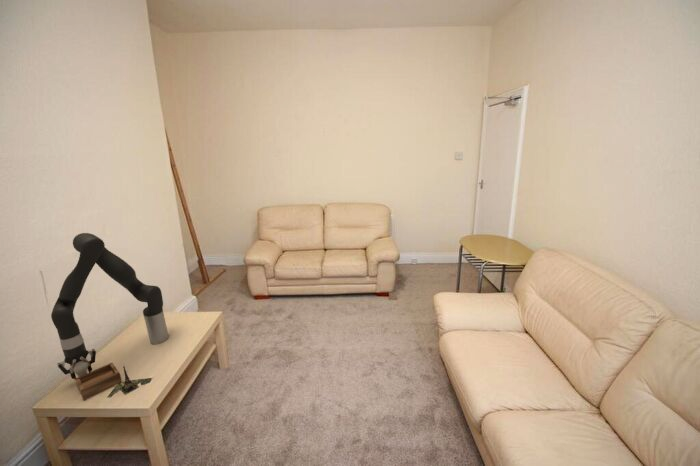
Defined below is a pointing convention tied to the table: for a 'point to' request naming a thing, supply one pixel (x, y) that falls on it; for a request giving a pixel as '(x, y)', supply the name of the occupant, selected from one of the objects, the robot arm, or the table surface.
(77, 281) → the robot arm
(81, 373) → the lightbulb
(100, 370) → the wooden tray
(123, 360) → the table surface
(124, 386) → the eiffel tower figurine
